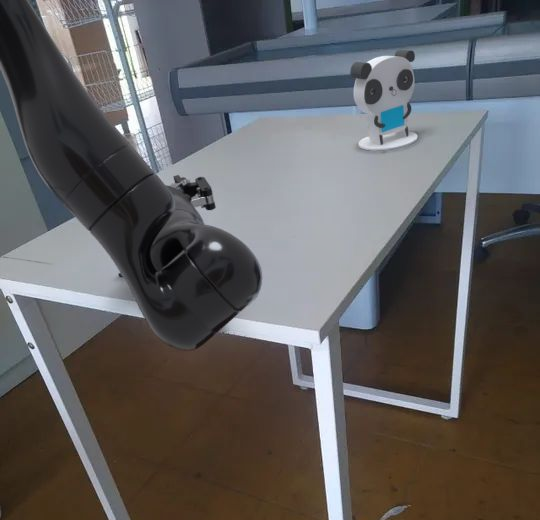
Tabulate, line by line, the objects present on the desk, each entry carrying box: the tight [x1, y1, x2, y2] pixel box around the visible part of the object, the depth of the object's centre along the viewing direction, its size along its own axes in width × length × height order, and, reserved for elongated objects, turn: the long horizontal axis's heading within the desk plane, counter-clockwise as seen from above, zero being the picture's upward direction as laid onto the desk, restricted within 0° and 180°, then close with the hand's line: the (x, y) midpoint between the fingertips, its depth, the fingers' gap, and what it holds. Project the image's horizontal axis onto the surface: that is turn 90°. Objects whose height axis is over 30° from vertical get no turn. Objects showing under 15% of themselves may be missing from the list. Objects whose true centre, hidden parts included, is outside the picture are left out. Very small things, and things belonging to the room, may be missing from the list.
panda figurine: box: [350, 49, 419, 152], centre depth 103 cm, size 12×11×15 cm
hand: (146, 191), depth 72 cm, fingers open, 8 cm apart
